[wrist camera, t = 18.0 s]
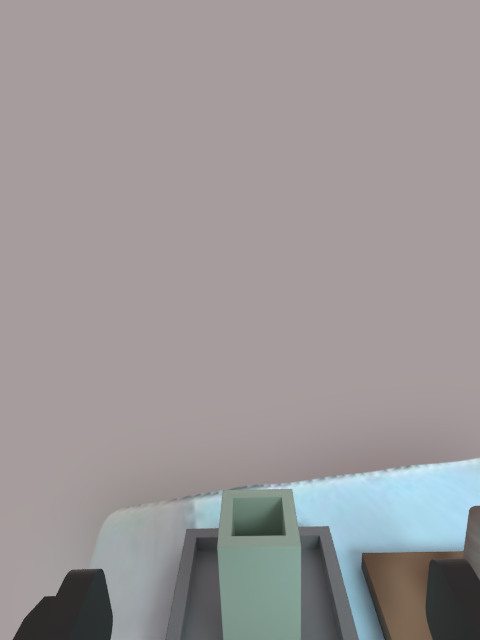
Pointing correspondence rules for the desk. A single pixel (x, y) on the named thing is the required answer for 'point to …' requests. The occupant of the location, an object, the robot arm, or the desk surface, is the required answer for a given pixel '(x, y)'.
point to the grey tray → (205, 601)
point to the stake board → (411, 583)
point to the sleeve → (259, 565)
